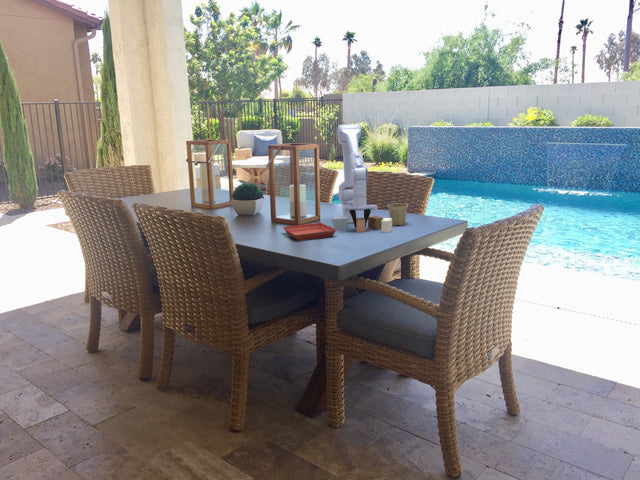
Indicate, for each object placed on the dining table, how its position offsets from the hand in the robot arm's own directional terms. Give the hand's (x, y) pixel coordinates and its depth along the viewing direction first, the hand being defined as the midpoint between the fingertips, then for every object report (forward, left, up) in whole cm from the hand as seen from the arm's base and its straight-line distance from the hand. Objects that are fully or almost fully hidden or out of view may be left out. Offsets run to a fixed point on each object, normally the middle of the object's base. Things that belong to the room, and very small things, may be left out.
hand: (360, 227), depth 225 cm
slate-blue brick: (-5, -8, -2) cm, 10 cm away
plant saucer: (+4, -22, -2) cm, 22 cm away
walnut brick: (-3, +7, -2) cm, 8 cm away
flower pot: (-9, +18, -2) cm, 20 cm away
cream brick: (+3, +11, -2) cm, 12 cm away
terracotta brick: (0, 0, -1) cm, 1 cm away
